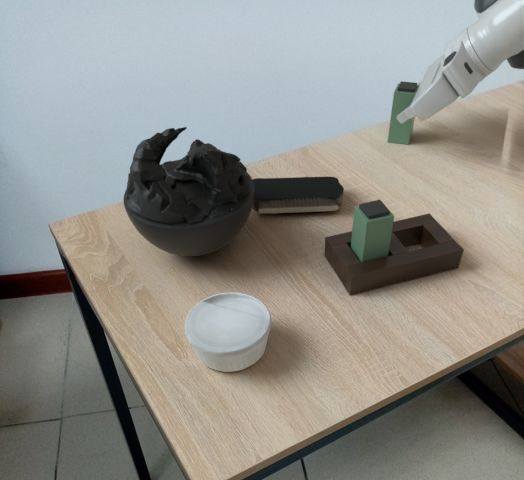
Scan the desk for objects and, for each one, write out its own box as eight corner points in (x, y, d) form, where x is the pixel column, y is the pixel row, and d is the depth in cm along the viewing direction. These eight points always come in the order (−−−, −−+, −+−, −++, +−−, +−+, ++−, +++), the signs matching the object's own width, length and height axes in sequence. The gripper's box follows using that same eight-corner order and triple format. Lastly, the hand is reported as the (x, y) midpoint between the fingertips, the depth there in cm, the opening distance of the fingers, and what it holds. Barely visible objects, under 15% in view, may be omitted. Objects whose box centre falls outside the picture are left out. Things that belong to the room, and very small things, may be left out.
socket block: (458, 268, 81) (464, 249, 78) (349, 295, 78) (351, 277, 75) (425, 231, 87) (429, 213, 85) (324, 255, 84) (325, 237, 82)
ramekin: (265, 313, 76) (263, 285, 72) (279, 372, 69) (278, 344, 65) (187, 325, 75) (181, 297, 71) (193, 385, 68) (187, 358, 64)
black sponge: (249, 219, 92) (248, 200, 89) (250, 193, 98) (249, 174, 95) (343, 216, 91) (345, 197, 89) (339, 190, 97) (340, 171, 94)
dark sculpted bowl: (128, 226, 93) (97, 119, 79) (236, 200, 97) (225, 93, 83) (151, 296, 80) (120, 184, 66) (275, 263, 84) (270, 150, 70)
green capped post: (411, 135, 110) (420, 82, 102) (408, 144, 107) (416, 90, 99) (391, 133, 111) (398, 79, 103) (387, 142, 108) (394, 88, 101)
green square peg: (373, 256, 84) (381, 196, 76) (385, 272, 81) (395, 212, 73) (349, 262, 83) (354, 202, 75) (360, 278, 80) (367, 218, 72)
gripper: (464, 26, 101) (404, 76, 110) (448, 67, 88) (382, 118, 98) (482, 54, 103) (422, 100, 113) (469, 97, 90) (403, 144, 100)
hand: (403, 109), depth 105 cm, fingers open, 8 cm apart
